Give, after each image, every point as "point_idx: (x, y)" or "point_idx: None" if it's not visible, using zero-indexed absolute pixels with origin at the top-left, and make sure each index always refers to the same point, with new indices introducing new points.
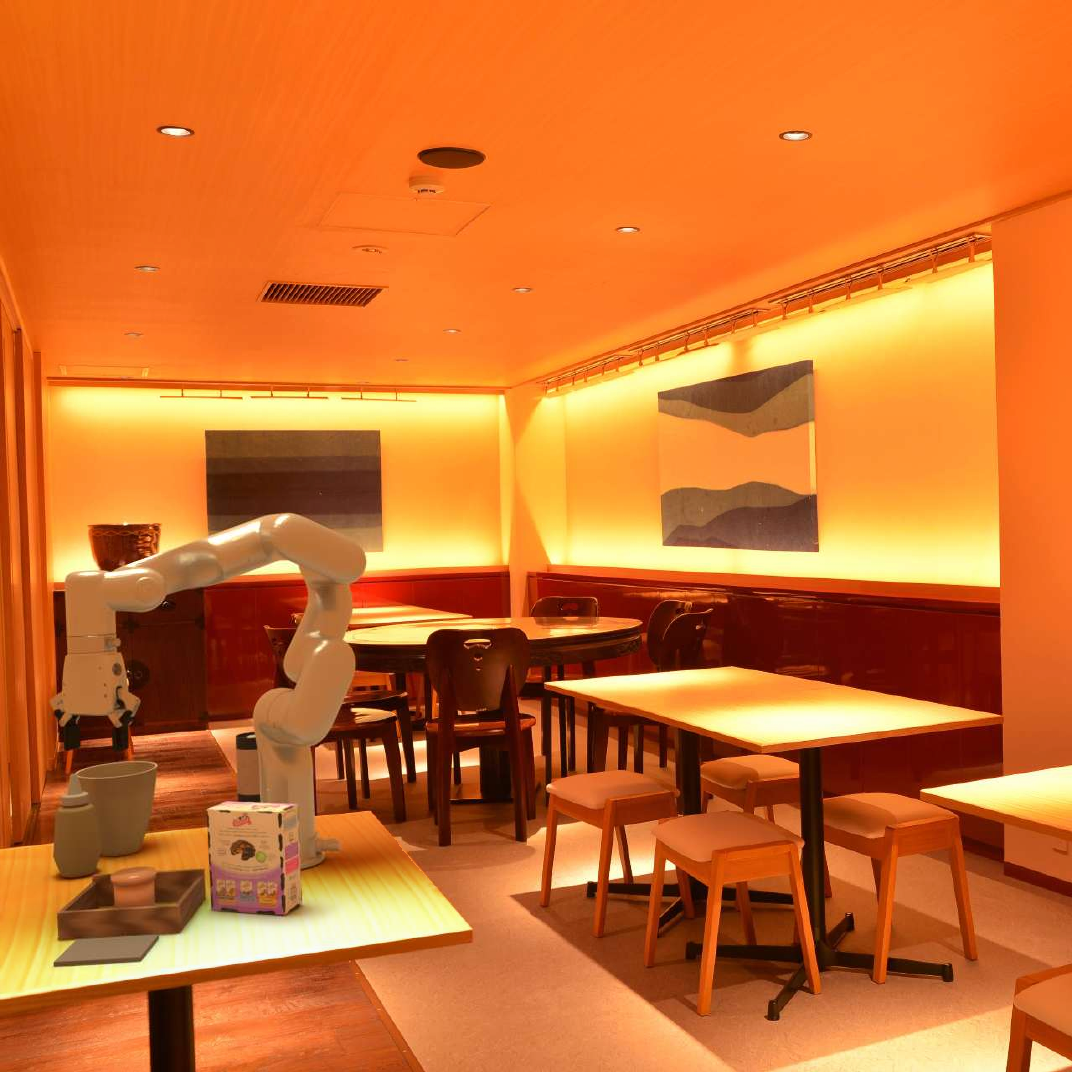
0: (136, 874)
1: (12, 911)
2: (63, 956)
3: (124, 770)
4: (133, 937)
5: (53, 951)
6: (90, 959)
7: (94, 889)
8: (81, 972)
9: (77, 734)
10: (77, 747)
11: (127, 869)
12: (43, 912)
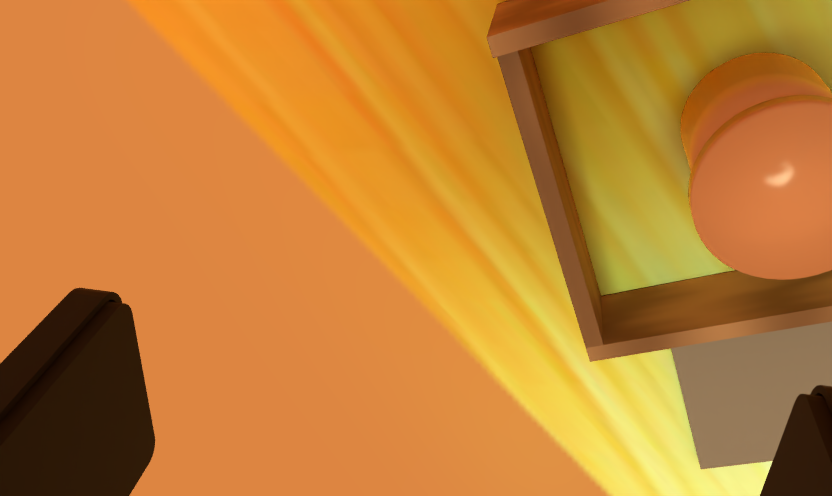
0: (818, 214)
1: (239, 103)
2: (706, 439)
3: None
4: None
5: (631, 381)
6: None
7: (527, 73)
8: None
9: (49, 441)
10: (133, 340)
11: (734, 152)
12: (356, 100)
